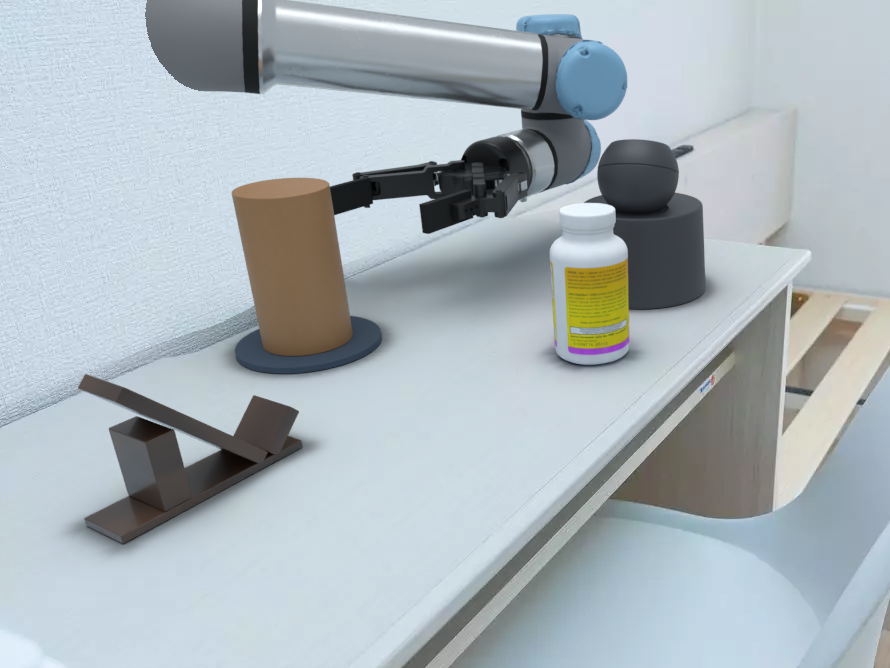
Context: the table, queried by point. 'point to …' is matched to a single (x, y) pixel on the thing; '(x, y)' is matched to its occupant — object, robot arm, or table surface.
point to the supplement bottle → (589, 286)
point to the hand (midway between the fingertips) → (370, 211)
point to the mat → (263, 361)
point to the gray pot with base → (653, 223)
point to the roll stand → (160, 463)
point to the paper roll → (294, 265)
